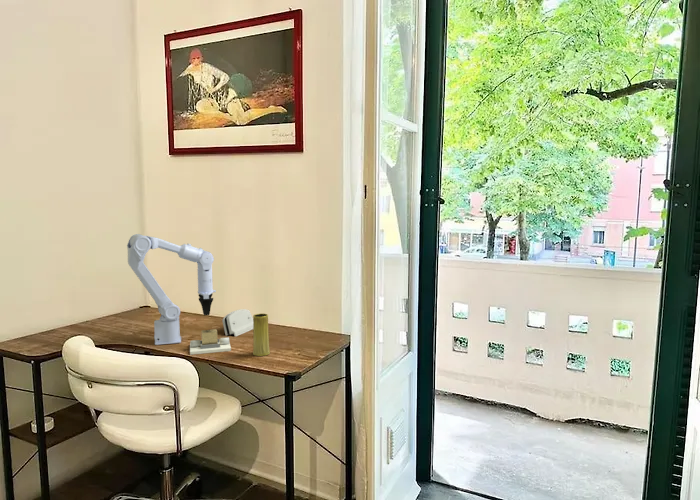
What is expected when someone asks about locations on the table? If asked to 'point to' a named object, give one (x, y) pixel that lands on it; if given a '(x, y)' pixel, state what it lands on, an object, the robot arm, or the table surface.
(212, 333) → the coupler
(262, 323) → the vase
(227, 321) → the hinge
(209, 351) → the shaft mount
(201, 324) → the table surface
